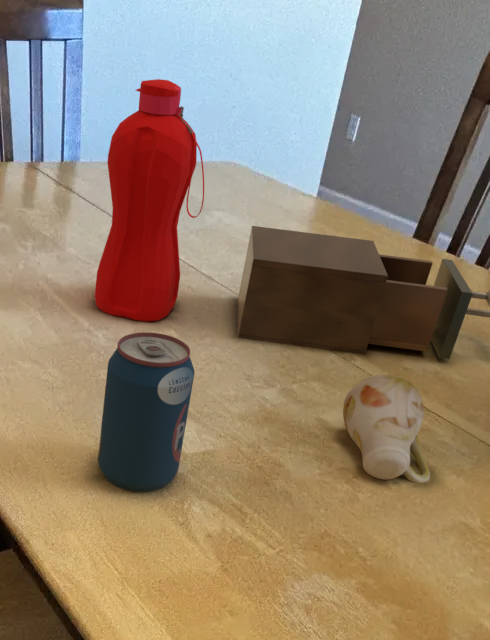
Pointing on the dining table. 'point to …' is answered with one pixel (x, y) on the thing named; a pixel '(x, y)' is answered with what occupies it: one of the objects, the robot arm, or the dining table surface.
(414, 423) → the mug
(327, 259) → the cabinet
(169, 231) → the water bottle
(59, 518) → the dining table surface
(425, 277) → the drawer
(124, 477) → the soda can
